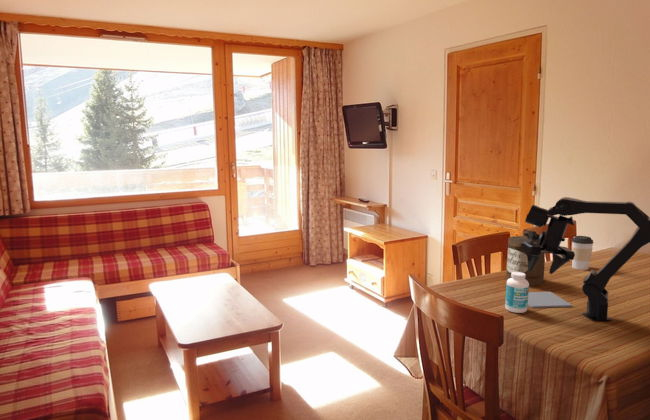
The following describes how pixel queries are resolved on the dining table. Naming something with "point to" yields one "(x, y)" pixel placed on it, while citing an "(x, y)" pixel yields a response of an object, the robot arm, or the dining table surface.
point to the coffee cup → (581, 252)
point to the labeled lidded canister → (524, 260)
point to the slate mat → (545, 300)
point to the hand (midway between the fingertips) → (539, 272)
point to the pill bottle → (517, 293)
